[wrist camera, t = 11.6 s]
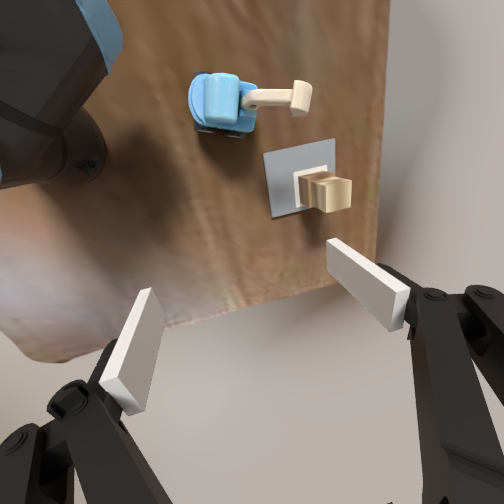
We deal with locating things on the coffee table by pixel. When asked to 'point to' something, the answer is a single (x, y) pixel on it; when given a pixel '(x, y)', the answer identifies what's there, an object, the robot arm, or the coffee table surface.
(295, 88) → the toy excavator
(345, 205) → the maple block
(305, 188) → the walnut block
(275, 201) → the pad
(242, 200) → the coffee table surface
